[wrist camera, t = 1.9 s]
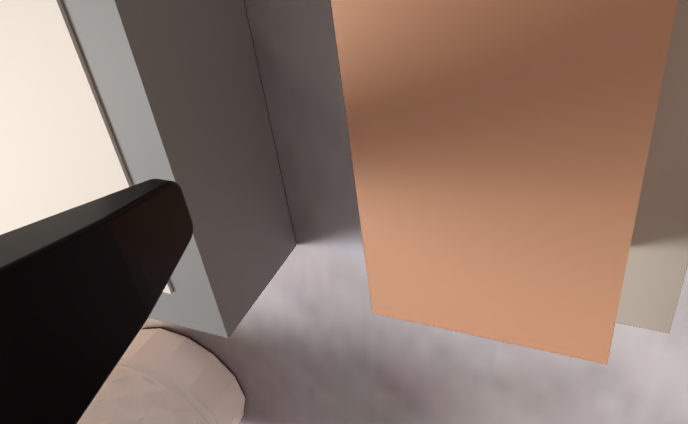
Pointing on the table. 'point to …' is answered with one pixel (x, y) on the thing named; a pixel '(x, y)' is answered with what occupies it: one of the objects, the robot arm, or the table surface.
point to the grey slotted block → (662, 201)
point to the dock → (148, 135)
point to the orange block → (501, 159)
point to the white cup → (167, 385)
